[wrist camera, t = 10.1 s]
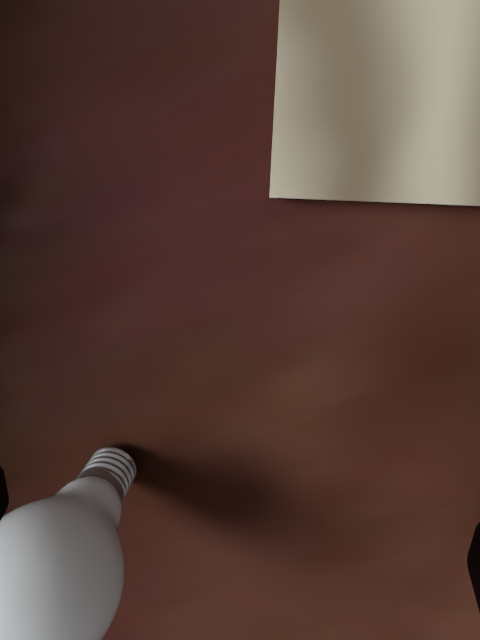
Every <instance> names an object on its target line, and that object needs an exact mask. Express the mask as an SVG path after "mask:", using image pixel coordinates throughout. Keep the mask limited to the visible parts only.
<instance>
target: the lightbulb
mask: <svg viewBox="0 0 480 640" xmlns="http://www.w3.org/2000/svg"><path fill="white" fill-rule="evenodd" d="M136 471H137V469H136V465H135V462H134V460H133V459H132V458H131V456H130V455H129V454H127V453H126V452H125V451H123V450H121V449H118V448H114V447H104V448H101V449H99V450H97V451H96V452H95V453H94V454H93V455H92V457H91V459H90V460H89V461H88V463H87V464H86V466H85V467H84V469H83V470H82V471H81V473H80V474H79V476H78V477H77V478H76V480H73V481H71V482H70V483H68V484H67V485H65V486H64V487H63V488H62V489H61V490H60V491H59V492H58V493H56V494H55V495H54V496H52V497H48V498H45V499H41V500H38V501H34V502H31V503H29V504H26V505H24V506H21V507H19V508H17V509H15V510H13V511H11V512H9V513H8V514H6V515H5V516H3V517H2V519H1V521H0V640H101V639H102V638H103V636H104V635H105V633H106V632H107V630H108V629H109V627H110V625H111V623H112V621H113V619H114V617H115V614H116V612H117V609H118V606H119V603H120V600H121V596H122V592H123V586H124V575H125V568H124V557H123V551H122V546H121V542H120V538H119V535H118V526H119V522H120V518H121V511H122V506H121V504H122V502H123V500H124V498H125V495H126V494H127V492H128V489H129V488H130V486H131V484H132V482H133V480H134V478H135V476H136Z"/></svg>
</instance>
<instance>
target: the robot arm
mask: <svg viewBox="0 0 480 640" xmlns="http://www.w3.org/2000/svg"><path fill="white" fill-rule="evenodd" d="M8 503H9V495H8V490H7V485H6V480H5V475H4V470H3V469H2V467H1V466H0V521H1V519H2V517H3V516H4V514H5V512H6V510H7V507H8ZM467 564H468V570H469V574H470V578H471V582H472V585H473V589H474V593H475V597H476V600H477V604H478V608H479V612H480V522H479V523H478V524H477V526H476V529H475V532H474V535H473V539H472V542H471V545H470V549H469V552H468V557H467Z"/></svg>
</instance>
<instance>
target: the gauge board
mask: <svg viewBox="0 0 480 640" xmlns="http://www.w3.org/2000/svg"><path fill="white" fill-rule="evenodd" d="M269 197H270V198H295V199H320V200H344V201H369V202H394V203H418V204H443V205H468V206H480V0H280V8H279V27H278V45H277V64H276V83H275V102H274V120H273V139H272V158H271V177H270V196H269Z"/></svg>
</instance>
